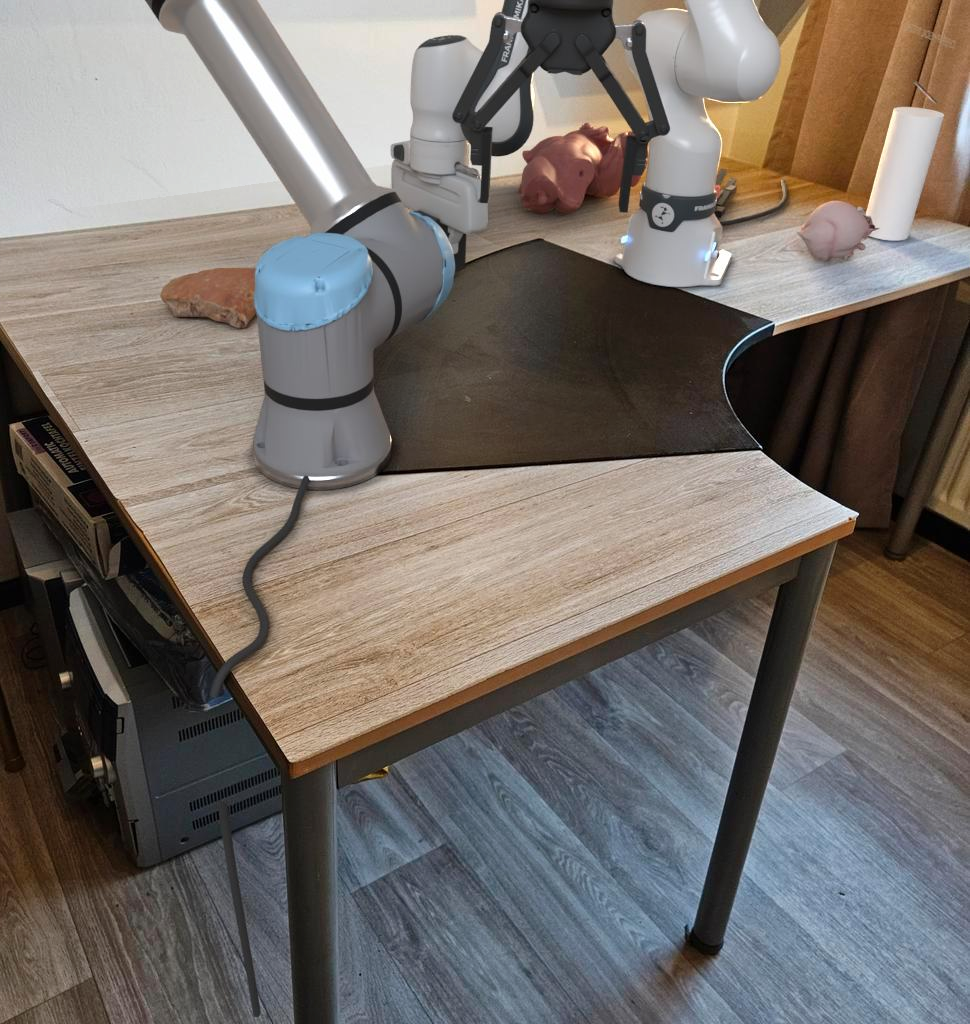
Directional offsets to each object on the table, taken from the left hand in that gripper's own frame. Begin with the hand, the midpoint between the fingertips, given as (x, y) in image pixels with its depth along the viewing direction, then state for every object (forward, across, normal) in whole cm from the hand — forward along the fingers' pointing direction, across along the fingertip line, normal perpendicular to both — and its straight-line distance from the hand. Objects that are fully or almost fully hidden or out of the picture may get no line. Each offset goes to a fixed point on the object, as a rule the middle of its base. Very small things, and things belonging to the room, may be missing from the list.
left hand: (553, 204), depth 95 cm
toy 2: (+28, -51, -77) cm, 96 cm away
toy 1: (+28, -33, -104) cm, 113 cm away
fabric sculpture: (+28, -6, -99) cm, 103 cm away
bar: (+26, +23, -46) cm, 58 cm away
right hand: (+23, +17, -52) cm, 60 cm away
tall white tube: (+28, -64, -92) cm, 116 cm away
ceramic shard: (+28, +47, -36) cm, 66 cm away
